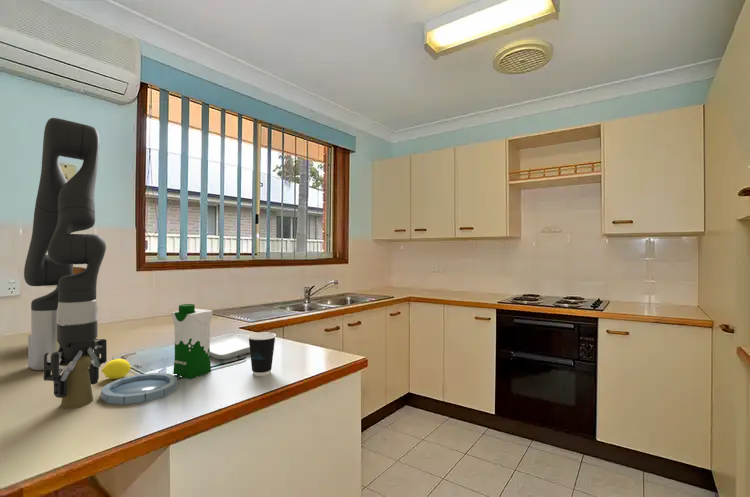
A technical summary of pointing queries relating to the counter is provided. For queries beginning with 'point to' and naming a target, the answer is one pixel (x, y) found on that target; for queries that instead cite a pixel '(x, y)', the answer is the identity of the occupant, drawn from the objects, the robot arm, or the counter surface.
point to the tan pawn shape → (78, 385)
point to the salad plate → (229, 346)
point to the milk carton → (192, 341)
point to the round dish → (139, 388)
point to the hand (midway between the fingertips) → (77, 390)
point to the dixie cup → (261, 352)
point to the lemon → (116, 368)
